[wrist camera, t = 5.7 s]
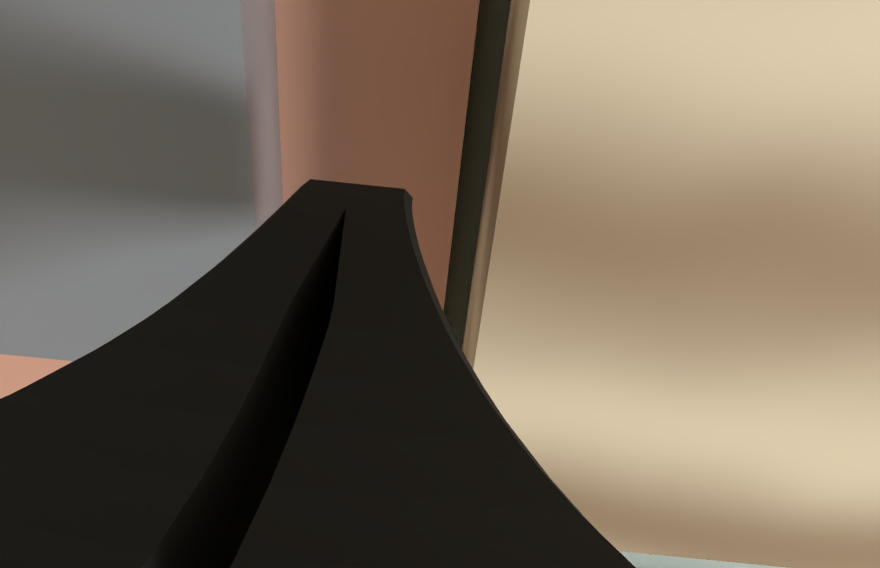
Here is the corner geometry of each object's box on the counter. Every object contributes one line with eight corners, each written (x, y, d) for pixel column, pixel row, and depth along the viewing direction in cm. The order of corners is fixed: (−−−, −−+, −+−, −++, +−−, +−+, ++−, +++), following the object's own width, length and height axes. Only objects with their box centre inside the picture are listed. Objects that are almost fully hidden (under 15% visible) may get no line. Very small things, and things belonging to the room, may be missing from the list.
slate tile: (-60, 348, 15) (-6, 282, 16) (266, 380, 15) (287, 311, 16) (-287, -225, 9) (-173, -241, 11) (228, -172, 9) (267, -194, 11)
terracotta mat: (429, 430, 19) (428, 439, 19) (2, 387, 19) (-5, 397, 19) (514, -309, 10) (514, -309, 10) (-269, -395, 10) (-286, -396, 10)
